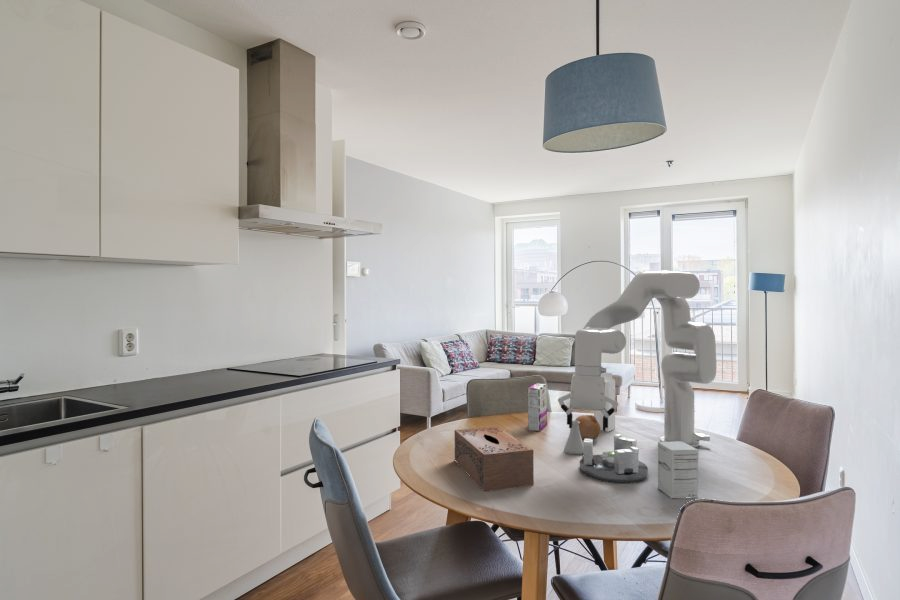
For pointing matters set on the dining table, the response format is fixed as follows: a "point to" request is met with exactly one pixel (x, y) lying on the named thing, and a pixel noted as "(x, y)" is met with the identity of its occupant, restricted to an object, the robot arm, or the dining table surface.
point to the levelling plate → (611, 470)
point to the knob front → (588, 452)
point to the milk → (607, 403)
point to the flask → (574, 440)
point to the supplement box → (678, 469)
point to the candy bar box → (537, 407)
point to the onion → (588, 427)
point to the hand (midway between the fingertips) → (587, 428)
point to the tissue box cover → (494, 458)
